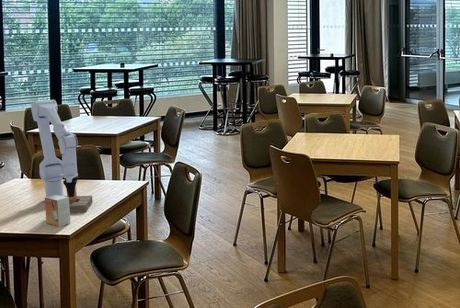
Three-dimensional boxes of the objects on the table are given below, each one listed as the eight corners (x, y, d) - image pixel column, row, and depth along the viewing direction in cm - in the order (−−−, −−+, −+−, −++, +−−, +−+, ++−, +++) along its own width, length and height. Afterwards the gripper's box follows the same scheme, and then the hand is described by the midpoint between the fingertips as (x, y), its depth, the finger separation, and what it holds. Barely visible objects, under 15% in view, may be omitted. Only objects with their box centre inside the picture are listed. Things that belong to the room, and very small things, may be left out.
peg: (67, 202, 274) (66, 181, 272) (77, 201, 275) (75, 181, 273) (67, 204, 270) (65, 184, 268) (77, 204, 271) (75, 183, 269)
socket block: (60, 203, 280) (59, 196, 280) (92, 202, 281) (92, 195, 280) (51, 213, 264) (51, 206, 264) (86, 212, 265) (85, 205, 264)
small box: (46, 223, 250) (44, 197, 248) (58, 220, 255) (56, 194, 253) (59, 227, 245) (57, 200, 243) (71, 223, 250) (69, 197, 248)
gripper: (61, 161, 276) (63, 192, 278) (57, 167, 261) (60, 200, 264) (78, 160, 277) (80, 191, 279) (75, 166, 262) (78, 199, 265)
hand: (71, 195), depth 272 cm, fingers closed on peg, 4 cm apart
